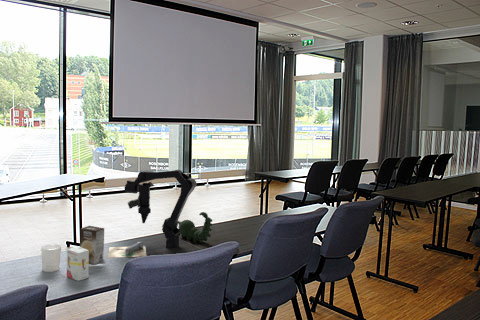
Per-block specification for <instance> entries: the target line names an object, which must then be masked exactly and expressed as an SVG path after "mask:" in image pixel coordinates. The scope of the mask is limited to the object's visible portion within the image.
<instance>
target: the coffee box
mask: <svg viewBox="0 0 480 320" xmlns="http://www.w3.org/2000/svg"><path fill="white" fill-rule="evenodd" d="M79 230H80V231H79V233H80V234H79V235H80V237H79V247H81V248H84V249H87V250H88V251H89V265H91V266H96V265H99V264H100V263H99V262H101V261H104V255H105V254H104V253H105V252H104V250H105V248H104V247H105V228H104V227H98V226H95V225H93V226H92V225H87V226H84V227H81V228H80V229H79Z"/></svg>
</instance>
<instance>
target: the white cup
mask: <svg viewBox="0 0 480 320" xmlns="http://www.w3.org/2000/svg"><path fill="white" fill-rule="evenodd" d="M40 251H41V253H40V255H41V269H42V272H45V273H53V272H56V271H59V270H60V266H61V258H62V257H61V255H62V254H61V253H62V245H60V244H54V243H53V244H45V245H43V246H41V247H40Z"/></svg>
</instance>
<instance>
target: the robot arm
mask: <svg viewBox="0 0 480 320" xmlns="http://www.w3.org/2000/svg"><path fill="white" fill-rule="evenodd" d="M172 178H173V179H175V180H176V181H177V182H178V184H180V186H181V187H180V194H179V197H178V199H177V200H176V203H175V206H174V207H173V209H172V213H171V215H170V217H167V218H166V219H164V221H163V224H162V225H161V227H162V229H161V230H162V233H163V234H164V237H165V245H164V247H165V248H166V249H177V248H180V237H181V231H180V230H179V224H178V221H179V218H180V216H181V214H182V212H183V209H184V207H185V206H186V203H187V201H188V198H189V196H190V195H191V194H192V193H193V192H194V190H195V189H196V187H197V181H196V179H194V178H191V176H189V175H188V174H186V173H185V172H183V171H182V170H180V169H174V170H165V171H152V170H142V171H140V172H138V174H137V177H136V178H135V180H131V179H130V180H126V183H125V185H124V192H125V193H126V194H138V196H137V198H135V199H132V200H129V201H127V206H128V208H129V209H132V208H135V207H137V211H138V212H137V213H138V214H140V216H141V222H142V224H145V223H146V221H147V219H148V216H149V215H150V214H151V207H150V206H151V205H150V204H151V202H150V200H151V196H150V195H151V188H152V187H154V186H155V185H154V183H152V181H154V180H161V179H172Z"/></svg>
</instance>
